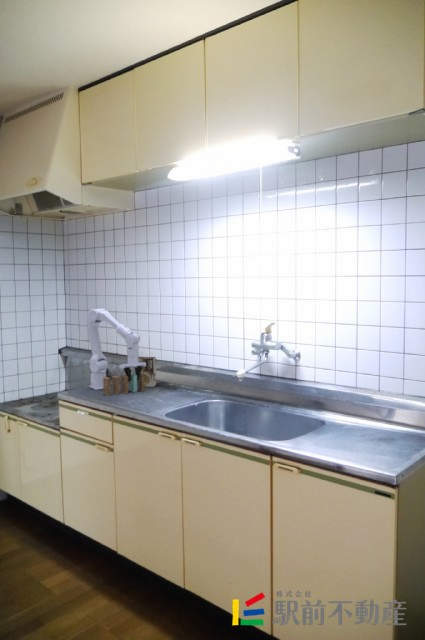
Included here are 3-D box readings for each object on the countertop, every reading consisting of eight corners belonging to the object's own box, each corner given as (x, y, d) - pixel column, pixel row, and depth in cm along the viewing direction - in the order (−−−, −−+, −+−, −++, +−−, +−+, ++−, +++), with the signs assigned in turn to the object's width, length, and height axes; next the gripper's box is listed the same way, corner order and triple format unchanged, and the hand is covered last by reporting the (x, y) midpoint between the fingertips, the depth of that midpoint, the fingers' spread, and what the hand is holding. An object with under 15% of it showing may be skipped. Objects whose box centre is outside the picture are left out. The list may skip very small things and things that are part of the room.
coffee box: (156, 384, 293) (156, 356, 291) (154, 386, 286) (153, 358, 285) (140, 384, 293) (140, 356, 292) (138, 386, 287) (137, 358, 286)
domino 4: (133, 392, 273) (133, 375, 272) (129, 390, 277) (129, 374, 276) (137, 391, 274) (136, 375, 273) (133, 390, 278) (132, 373, 277)
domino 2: (116, 394, 267) (115, 377, 266) (112, 392, 271) (112, 376, 270) (119, 394, 268) (119, 377, 267) (115, 392, 272) (115, 375, 271)
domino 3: (125, 393, 270) (124, 376, 269) (121, 391, 274) (120, 375, 273) (128, 392, 271) (128, 376, 270) (124, 391, 275) (124, 374, 274)
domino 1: (107, 395, 264) (106, 378, 263) (103, 394, 268) (103, 377, 268) (110, 395, 265) (110, 378, 264) (107, 393, 269) (106, 376, 269)
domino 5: (142, 391, 275) (141, 374, 275) (137, 389, 279) (137, 373, 279) (145, 390, 276) (145, 374, 276) (141, 389, 281) (141, 372, 280)
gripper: (123, 357, 266) (123, 383, 267) (148, 355, 274) (148, 380, 275) (118, 356, 272) (118, 381, 273) (142, 353, 280) (142, 378, 281)
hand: (133, 380), depth 275 cm, fingers open, 4 cm apart
